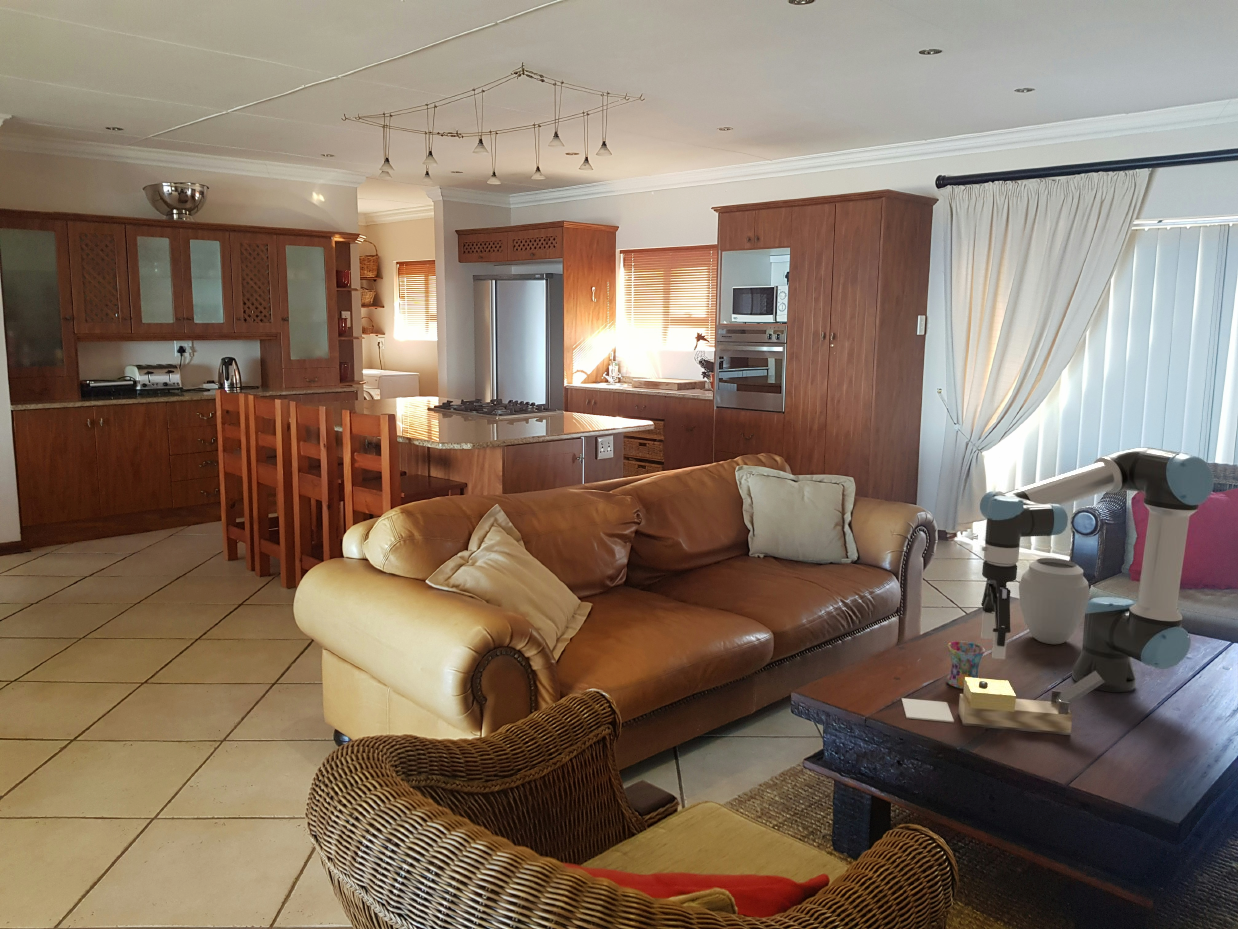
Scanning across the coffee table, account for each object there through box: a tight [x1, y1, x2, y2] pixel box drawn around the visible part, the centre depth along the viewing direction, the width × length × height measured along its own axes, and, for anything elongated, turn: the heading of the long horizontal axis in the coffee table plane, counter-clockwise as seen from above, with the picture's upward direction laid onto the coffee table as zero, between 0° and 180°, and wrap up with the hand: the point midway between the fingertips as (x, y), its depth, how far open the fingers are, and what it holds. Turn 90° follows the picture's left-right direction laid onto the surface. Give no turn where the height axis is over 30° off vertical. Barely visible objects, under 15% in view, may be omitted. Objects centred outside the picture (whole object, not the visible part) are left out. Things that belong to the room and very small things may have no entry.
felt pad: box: [901, 697, 955, 723], centre depth 227 cm, size 11×11×1 cm
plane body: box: [957, 689, 1073, 736], centre depth 220 cm, size 24×7×8 cm, turn 79°
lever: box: [1054, 671, 1105, 706], centre depth 216 cm, size 1×5×12 cm
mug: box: [946, 640, 986, 690], centre depth 243 cm, size 12×9×11 cm
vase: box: [1018, 557, 1091, 645], centre depth 276 cm, size 20×20×24 cm
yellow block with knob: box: [962, 677, 1017, 712], centre depth 221 cm, size 10×9×5 cm
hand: (992, 648), depth 219 cm, fingers open, 13 cm apart
